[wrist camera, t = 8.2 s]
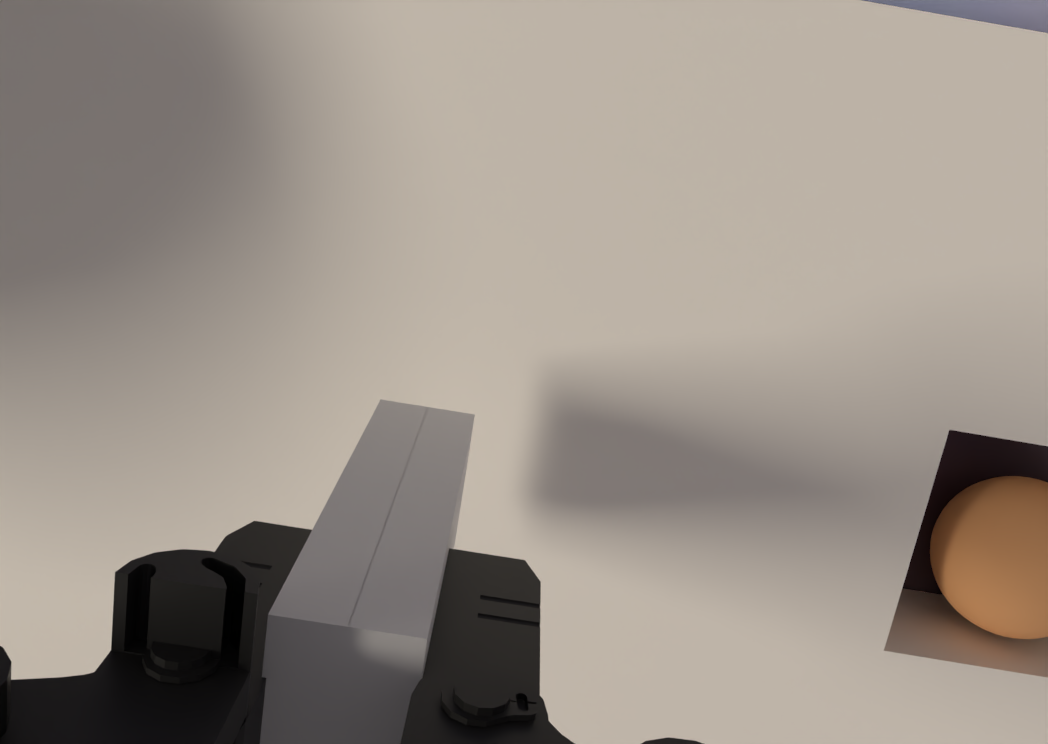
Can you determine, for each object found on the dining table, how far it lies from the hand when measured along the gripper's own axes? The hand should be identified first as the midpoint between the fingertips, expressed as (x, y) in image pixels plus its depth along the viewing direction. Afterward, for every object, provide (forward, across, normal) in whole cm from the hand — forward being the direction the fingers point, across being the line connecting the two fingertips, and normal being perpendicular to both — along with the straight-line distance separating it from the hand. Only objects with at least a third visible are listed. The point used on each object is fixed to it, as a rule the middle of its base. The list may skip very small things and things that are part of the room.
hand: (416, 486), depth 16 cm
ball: (+4, +12, -1) cm, 12 cm away
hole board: (+5, +5, -1) cm, 8 cm away
